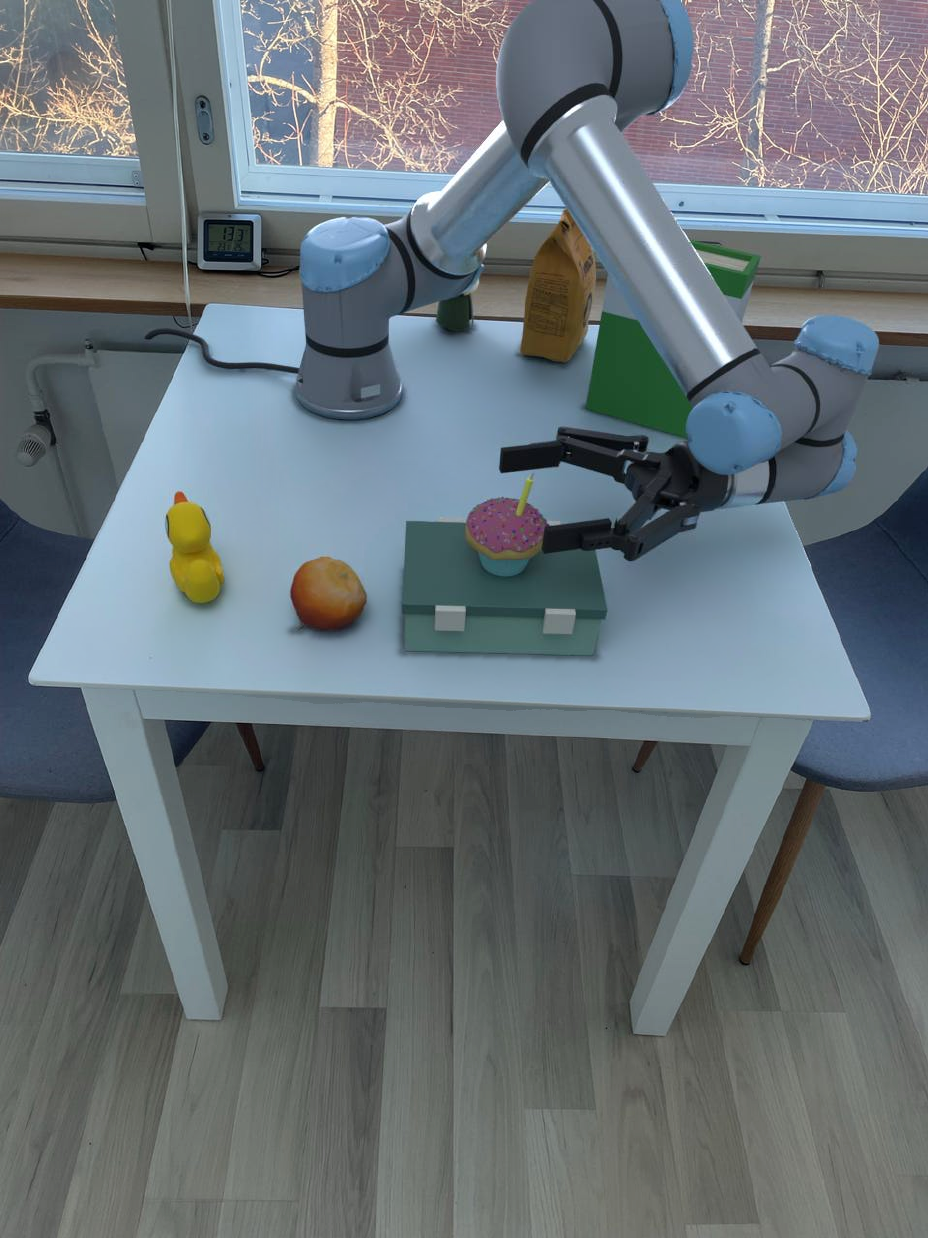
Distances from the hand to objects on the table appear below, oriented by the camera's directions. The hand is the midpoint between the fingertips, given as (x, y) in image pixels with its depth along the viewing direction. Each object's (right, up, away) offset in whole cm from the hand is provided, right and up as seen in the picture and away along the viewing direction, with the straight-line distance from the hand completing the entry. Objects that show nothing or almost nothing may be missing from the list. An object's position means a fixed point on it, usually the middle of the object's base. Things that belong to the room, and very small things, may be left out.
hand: (521, 498), depth 88 cm
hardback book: (+22, +18, +43) cm, 52 cm away
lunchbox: (-2, -11, +10) cm, 15 cm away
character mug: (-7, +37, +60) cm, 71 cm away
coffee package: (+9, +32, +57) cm, 66 cm away
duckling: (-35, -8, +11) cm, 38 cm away
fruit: (-20, -12, +8) cm, 25 cm away
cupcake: (-2, -6, +5) cm, 8 cm away
